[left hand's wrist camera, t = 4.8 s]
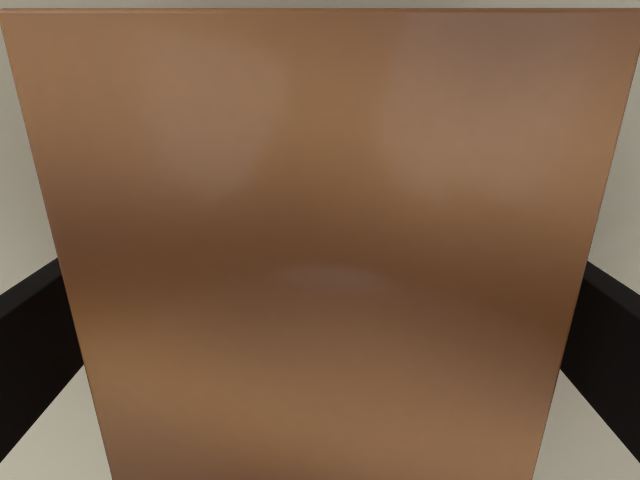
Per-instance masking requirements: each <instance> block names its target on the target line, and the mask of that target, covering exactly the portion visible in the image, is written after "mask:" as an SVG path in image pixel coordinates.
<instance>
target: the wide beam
mask: <svg viewBox="0 0 640 480" xmlns="http://www.w3.org/2000/svg"><path fill="white" fill-rule="evenodd" d="M0 25H1V29H2V33H3V37H4V41H5V45H6V49H7V53H8V57H9V61H10V65H11V69H12V73H13V77H14V81H15V86H16V90H17V94H18V98H19V102H20V106H21V110H22V114H23V118H24V122H25V126H26V130H27V134H28V138H29V142H30V146H31V151H32V155H33V159H34V163H35V167H36V171H37V175H38V179H39V183H40V187H41V191H42V195H43V199H44V203H45V207H46V211H47V216H48V220H49V224H50V228H51V232H52V236H53V240H54V244H55V248H56V252H57V256H58V260H59V264H60V268H61V272H62V276H63V281H64V285H65V289H66V293H67V297H68V301H69V305H70V309H71V313H72V317H73V321H74V325H75V329H76V333H77V337H78V341H79V346H80V350H81V354H82V358H83V362H84V366H85V370H86V374H87V378H88V382H89V386H90V390H91V394H92V398H93V402H94V406H95V410H96V415H97V419H98V423H99V427H100V431H101V435H102V439H103V443H104V447H105V451H106V455H107V459H108V463H109V467H110V471H111V475H112V480H532V478H533V474H534V470H535V466H536V462H537V458H538V454H539V450H540V446H541V442H542V438H543V434H544V430H545V426H546V422H547V418H548V414H549V410H550V406H551V402H552V398H553V394H554V390H555V386H556V382H557V378H558V374H559V370H560V366H561V362H562V358H563V354H564V350H565V346H566V342H567V338H568V334H569V330H570V326H571V323H572V319H573V315H574V311H575V307H576V303H577V299H578V295H579V291H580V287H581V283H582V279H583V275H584V271H585V267H586V263H587V259H588V255H589V251H590V247H591V243H592V239H593V235H594V231H595V227H596V223H597V219H598V215H599V211H600V207H601V203H602V199H603V195H604V191H605V187H606V183H607V179H608V175H609V171H610V167H611V163H612V159H613V155H614V151H615V148H616V144H617V140H618V136H619V132H620V128H621V124H622V120H623V116H624V112H625V108H626V104H627V100H628V96H629V92H630V88H631V84H632V80H633V76H634V72H635V68H636V64H637V60H638V56H639V52H640V8H3V9H0Z"/></svg>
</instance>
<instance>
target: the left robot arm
mask: <svg viewBox="0 0 640 480" xmlns="http://www.w3.org/2000/svg"><path fill="white" fill-rule="evenodd" d="M83 365H84V362H83V358H82V354H81V350H80V346H79V341H78V337H77V333H76V329H75V325H74V321H73V317H72V313H71V309H70V305H69V301H68V297H67V293H66V289H65V285H64V281H63V276H62V272H61V268H60V264H59V260H58V258H56V259H55V260H53V261H52V262H50V263H49V264H47V265H45V266H44V267H42V268H41V269H39V270H38V271H36V272H35V273H33V274H32V275H30V276H29V277H27V278H26V279H24V280H23V281H21V282H20V283H18V284H17V285H15V286H13V287H12V288H10V289H9V290H7V291H6V292H4V293H3V294H1V295H0V463H1V461H2V460H3V459H4V458H5V457H6V455H7V454H8V453H9V452H10V451H11V450H12V448H13V447H14V446H15V445H16V444H17V443H18V441H19V440H20V439H21V438H22V437H23V435H24V434H25V433H26V432H27V431H28V430H29V428H30V427H31V426H32V425H33V424H34V422H35V421H36V420H37V419H38V418H39V417H40V415H41V414H42V413H43V412H44V411H45V409H46V408H47V407H48V406H49V405H50V404H51V402H52V401H53V400H54V399H55V398H56V397H57V395H58V394H59V393H60V392H61V391H62V389H63V388H64V387H65V386H66V385H67V384H68V382H69V381H70V380H71V379H72V378H73V376H74V375H75V374H76V373H77V372H78V371H79V369H80V368H81V367H82V366H83ZM560 369H561V371H562V372H563V373H564V374H565V375H566V376H567V378H568V379H569V380H570V381H571V382H572V384H573V385H574V386H575V387H576V388H577V389H578V391H579V392H580V393H581V394H582V395H583V397H584V398H585V399H586V400H587V401H588V402H589V404H590V405H591V406H592V407H593V408H594V409H595V411H596V412H597V413H598V414H599V415H600V417H601V418H602V419H603V420H604V421H605V422H606V424H607V425H608V426H609V427H610V428H611V430H612V431H613V432H614V433H615V434H616V435H617V437H618V438H619V439H620V440H621V441H622V443H623V444H624V445H625V446H626V447H627V448H628V450H629V451H630V452H631V453H632V454H633V455H634V457H635V458H636V459H637V460H638V461H639V463H640V295H639V294H637V293H636V292H634V291H633V290H631V289H630V288H628V287H627V286H625V285H623V284H622V283H620V282H619V281H617V280H616V279H614V278H613V277H611V276H610V275H608V274H607V273H605V272H604V271H602V270H601V269H599V268H598V267H596V266H595V265H593V264H591V263H590V262H588V261H587V263H586V267H585V271H584V275H583V279H582V283H581V287H580V291H579V295H578V299H577V303H576V307H575V311H574V315H573V319H572V323H571V326H570V330H569V334H568V338H567V342H566V346H565V350H564V354H563V358H562V362H561V366H560Z"/></svg>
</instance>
